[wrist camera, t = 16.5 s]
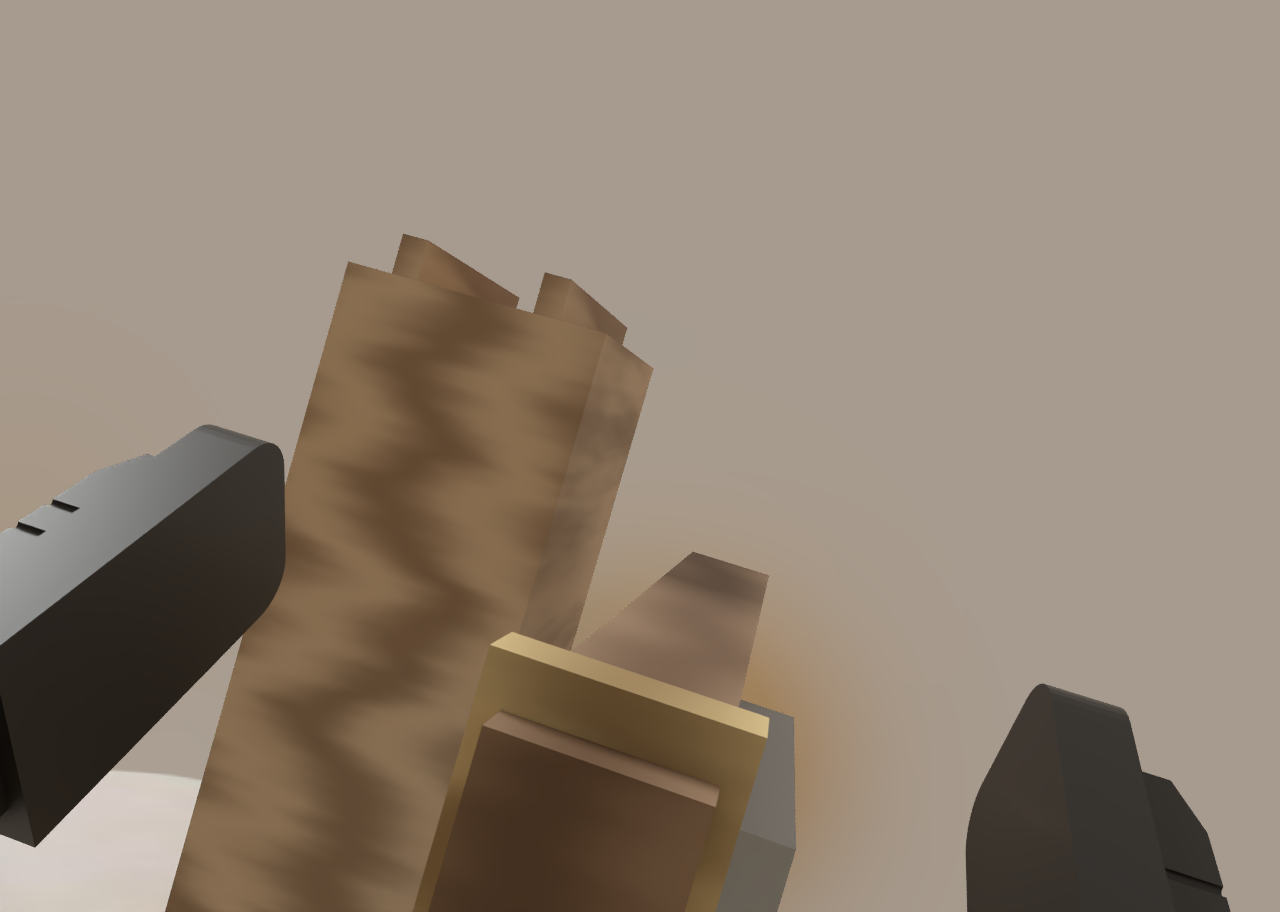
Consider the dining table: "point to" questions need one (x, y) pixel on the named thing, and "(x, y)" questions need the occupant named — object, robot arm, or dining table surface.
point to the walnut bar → (608, 760)
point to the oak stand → (407, 575)
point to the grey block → (765, 825)
